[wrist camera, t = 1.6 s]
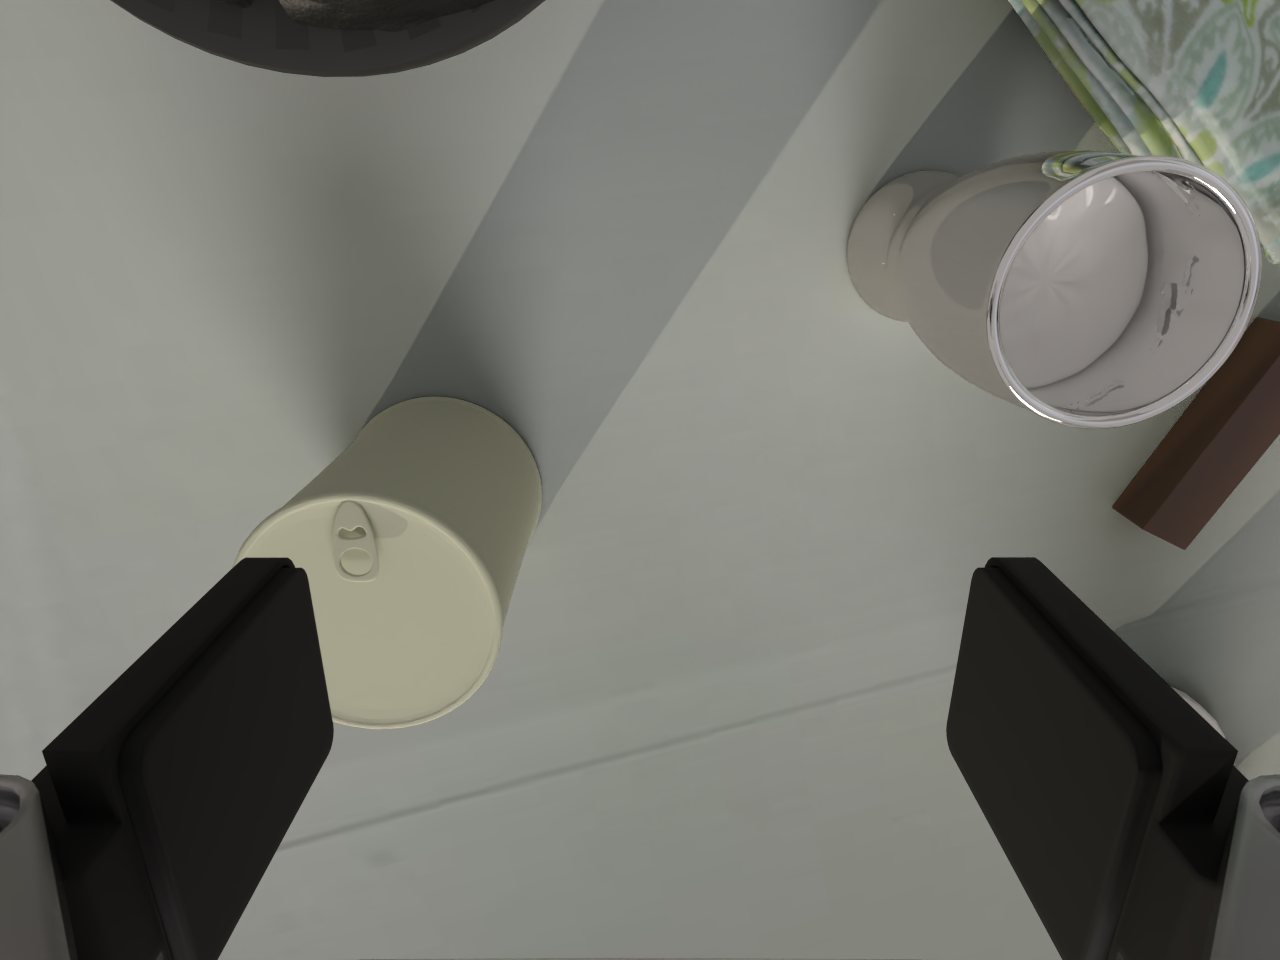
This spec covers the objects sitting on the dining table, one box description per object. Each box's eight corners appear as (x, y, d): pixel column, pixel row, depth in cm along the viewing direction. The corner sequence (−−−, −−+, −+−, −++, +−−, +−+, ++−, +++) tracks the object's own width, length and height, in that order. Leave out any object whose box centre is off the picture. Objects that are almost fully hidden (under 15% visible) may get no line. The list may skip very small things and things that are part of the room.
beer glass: (999, 142, 32) (1287, 115, 18) (1004, 313, 34) (1260, 410, 20) (826, 178, 32) (972, 180, 18) (843, 345, 34) (984, 460, 20)
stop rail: (1299, 340, 34) (1346, 352, 32) (1151, 527, 38) (1185, 550, 35) (1256, 316, 34) (1302, 326, 32) (1111, 507, 37) (1142, 529, 35)
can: (537, 394, 35) (490, 495, 24) (547, 576, 39) (510, 739, 27) (332, 396, 35) (190, 498, 24) (360, 578, 39) (246, 742, 27)
